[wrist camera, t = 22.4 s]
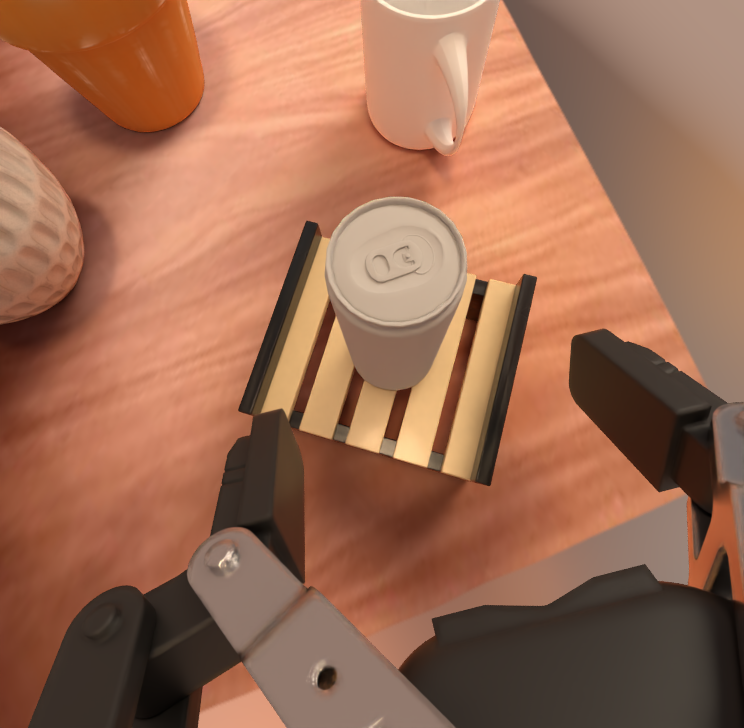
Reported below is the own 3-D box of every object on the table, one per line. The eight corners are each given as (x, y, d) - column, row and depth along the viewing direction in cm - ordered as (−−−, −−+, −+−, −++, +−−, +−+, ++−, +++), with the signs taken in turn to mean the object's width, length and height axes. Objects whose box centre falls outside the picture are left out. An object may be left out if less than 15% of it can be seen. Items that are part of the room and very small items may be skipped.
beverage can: (445, 377, 25) (496, 300, 13) (367, 404, 25) (348, 352, 13) (416, 303, 26) (439, 173, 14) (341, 329, 26) (301, 219, 14)
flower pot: (115, 9, 39) (-18, -212, 26) (260, 41, 37) (194, -176, 25) (44, 138, 36) (-144, -39, 23) (198, 179, 34) (87, 13, 22)
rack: (506, 315, 31) (537, 276, 24) (467, 481, 28) (490, 486, 22) (322, 268, 32) (305, 219, 26) (270, 422, 30) (237, 410, 23)
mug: (394, 202, 33) (397, 83, 23) (355, 80, 36) (341, -76, 25) (501, 174, 33) (551, 43, 23) (453, 55, 36) (480, -111, 26)
